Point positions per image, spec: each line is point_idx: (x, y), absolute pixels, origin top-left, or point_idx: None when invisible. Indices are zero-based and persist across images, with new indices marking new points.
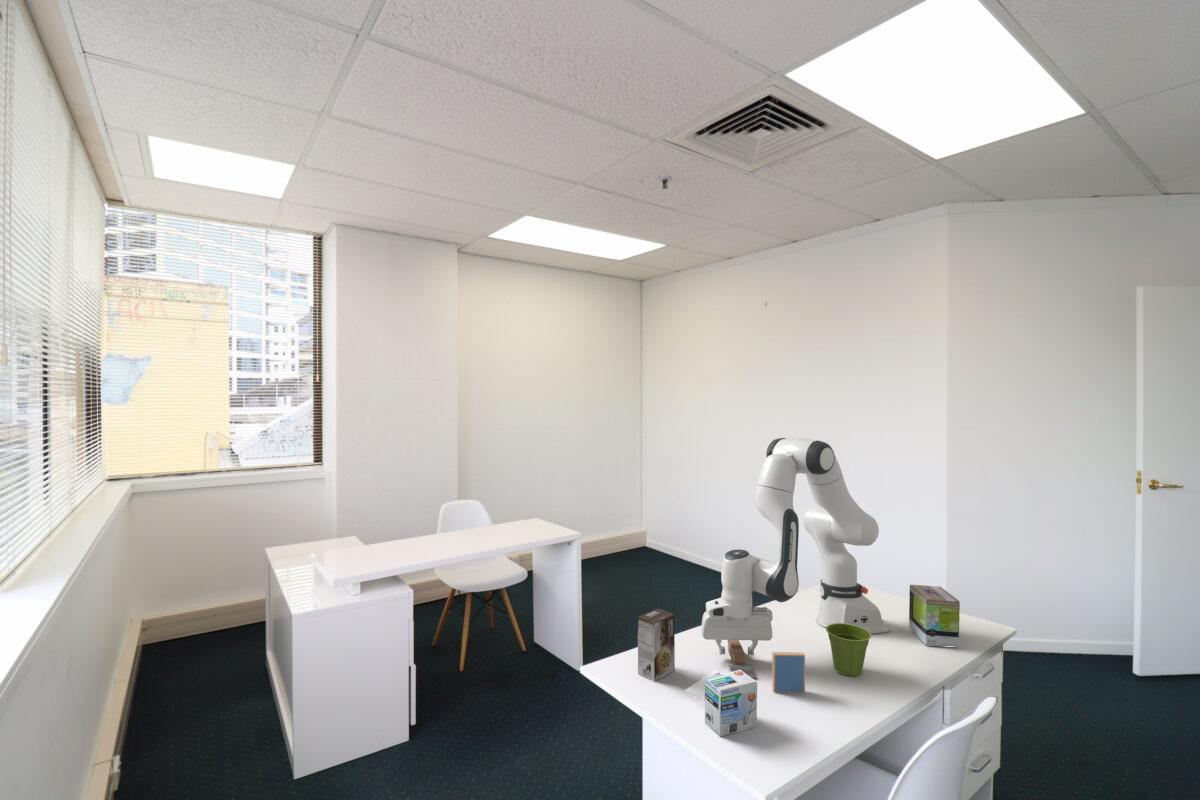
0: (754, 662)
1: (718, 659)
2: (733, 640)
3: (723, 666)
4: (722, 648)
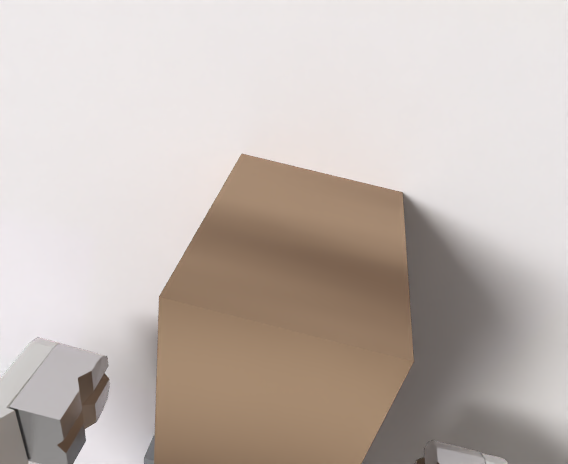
0: (447, 443)
1: (70, 306)
2: (258, 390)
3: (104, 414)
4: (30, 454)
